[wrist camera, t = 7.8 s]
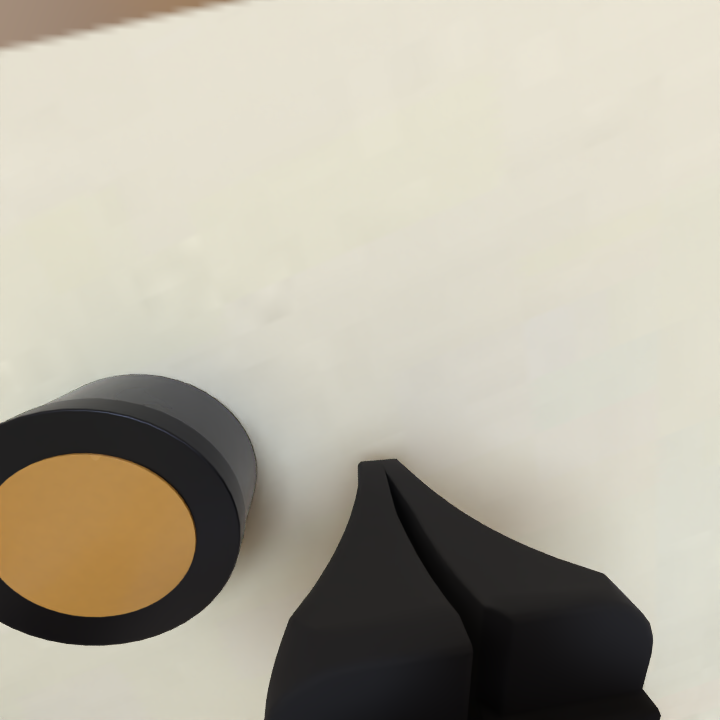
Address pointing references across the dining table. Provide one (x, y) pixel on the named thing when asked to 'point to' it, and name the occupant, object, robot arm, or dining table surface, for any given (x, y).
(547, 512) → the dining table surface
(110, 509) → the tin
